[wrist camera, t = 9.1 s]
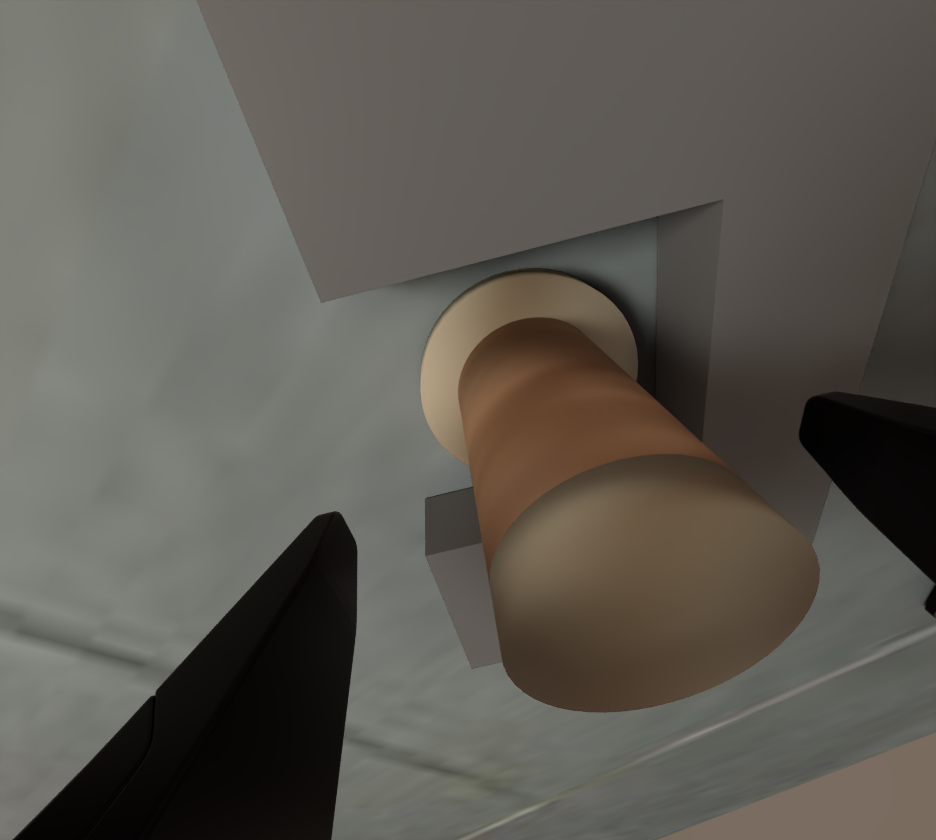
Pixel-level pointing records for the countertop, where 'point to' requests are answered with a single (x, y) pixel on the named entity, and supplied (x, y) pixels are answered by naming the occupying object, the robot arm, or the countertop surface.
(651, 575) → the spool
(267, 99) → the gray u-shaped block
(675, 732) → the countertop surface
